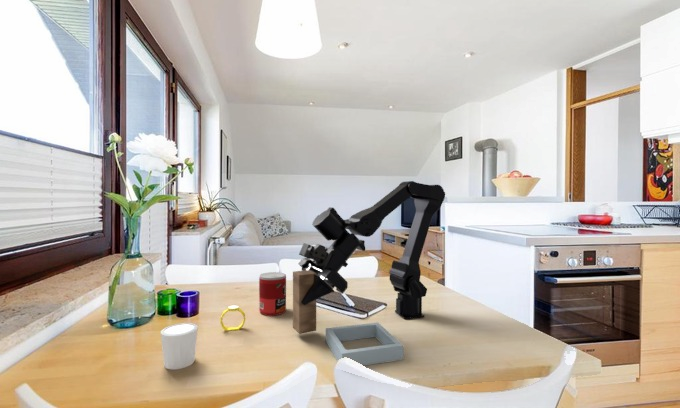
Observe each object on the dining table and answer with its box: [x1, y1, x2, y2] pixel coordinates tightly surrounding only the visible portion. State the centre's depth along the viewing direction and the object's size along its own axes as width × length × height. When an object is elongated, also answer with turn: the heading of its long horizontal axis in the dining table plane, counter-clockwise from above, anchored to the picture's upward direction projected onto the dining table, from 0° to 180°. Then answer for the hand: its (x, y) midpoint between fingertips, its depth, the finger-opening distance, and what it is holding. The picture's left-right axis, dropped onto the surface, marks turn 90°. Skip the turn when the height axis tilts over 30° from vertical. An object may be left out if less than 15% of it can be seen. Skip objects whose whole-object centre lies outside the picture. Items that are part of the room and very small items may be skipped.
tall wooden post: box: [292, 270, 317, 335], centre depth 81 cm, size 4×4×14 cm
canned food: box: [258, 271, 287, 316], centre depth 98 cm, size 8×8×11 cm
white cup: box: [160, 322, 199, 370], centre depth 67 cm, size 7×7×7 cm
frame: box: [325, 322, 404, 366], centre depth 73 cm, size 13×13×3 cm
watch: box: [220, 304, 246, 332], centre depth 85 cm, size 6×3×6 cm, turn 107°
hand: (299, 301), depth 80 cm, fingers closed on tall wooden post, 4 cm apart
